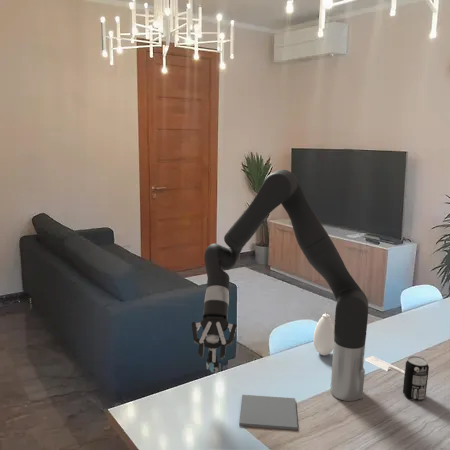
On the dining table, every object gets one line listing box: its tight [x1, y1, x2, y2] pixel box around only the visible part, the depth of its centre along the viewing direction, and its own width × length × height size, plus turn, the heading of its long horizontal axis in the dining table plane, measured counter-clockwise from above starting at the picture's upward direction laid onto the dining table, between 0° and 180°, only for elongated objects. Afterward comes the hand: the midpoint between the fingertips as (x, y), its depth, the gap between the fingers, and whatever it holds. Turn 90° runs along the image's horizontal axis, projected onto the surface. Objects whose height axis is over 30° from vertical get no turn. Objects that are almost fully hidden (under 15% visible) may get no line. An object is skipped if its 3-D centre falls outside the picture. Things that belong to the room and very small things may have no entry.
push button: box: [203, 334, 222, 374], centre depth 136 cm, size 7×5×10 cm
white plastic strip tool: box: [364, 355, 405, 375], centre depth 162 cm, size 5×15×1 cm, turn 36°
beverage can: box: [402, 355, 430, 402], centre depth 143 cm, size 7×7×12 cm
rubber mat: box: [238, 394, 299, 431], centre depth 135 cm, size 16×14×1 cm
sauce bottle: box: [312, 307, 335, 356], centre depth 168 cm, size 8×8×18 cm
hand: (211, 357), depth 134 cm, fingers closed on push button, 5 cm apart
